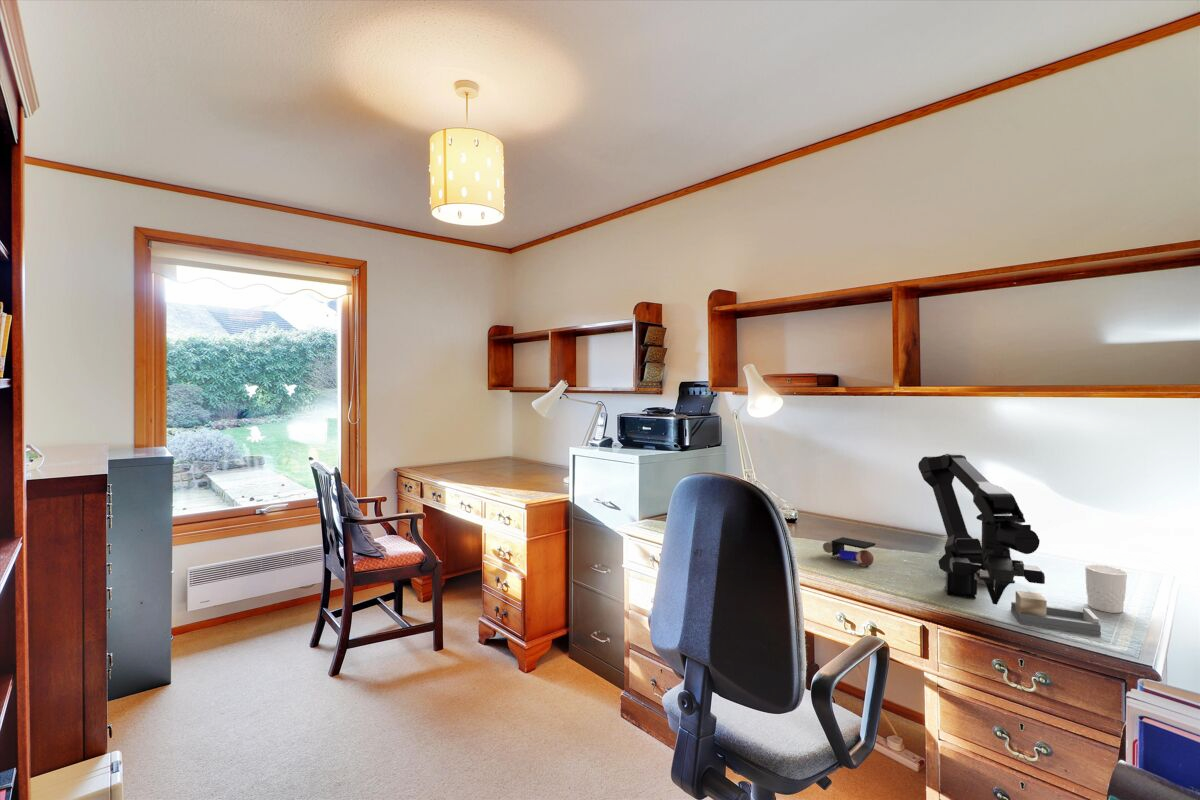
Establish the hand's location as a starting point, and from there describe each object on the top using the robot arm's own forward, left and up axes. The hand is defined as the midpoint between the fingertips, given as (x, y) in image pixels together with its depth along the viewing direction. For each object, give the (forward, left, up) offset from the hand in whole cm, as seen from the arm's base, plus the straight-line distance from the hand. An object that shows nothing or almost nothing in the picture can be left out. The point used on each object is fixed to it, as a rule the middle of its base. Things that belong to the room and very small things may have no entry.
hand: (994, 603), depth 139 cm
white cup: (+26, +16, -3) cm, 31 cm away
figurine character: (-34, +30, -3) cm, 45 cm away
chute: (+12, 0, -2) cm, 12 cm away
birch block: (+7, 0, -2) cm, 7 cm away
